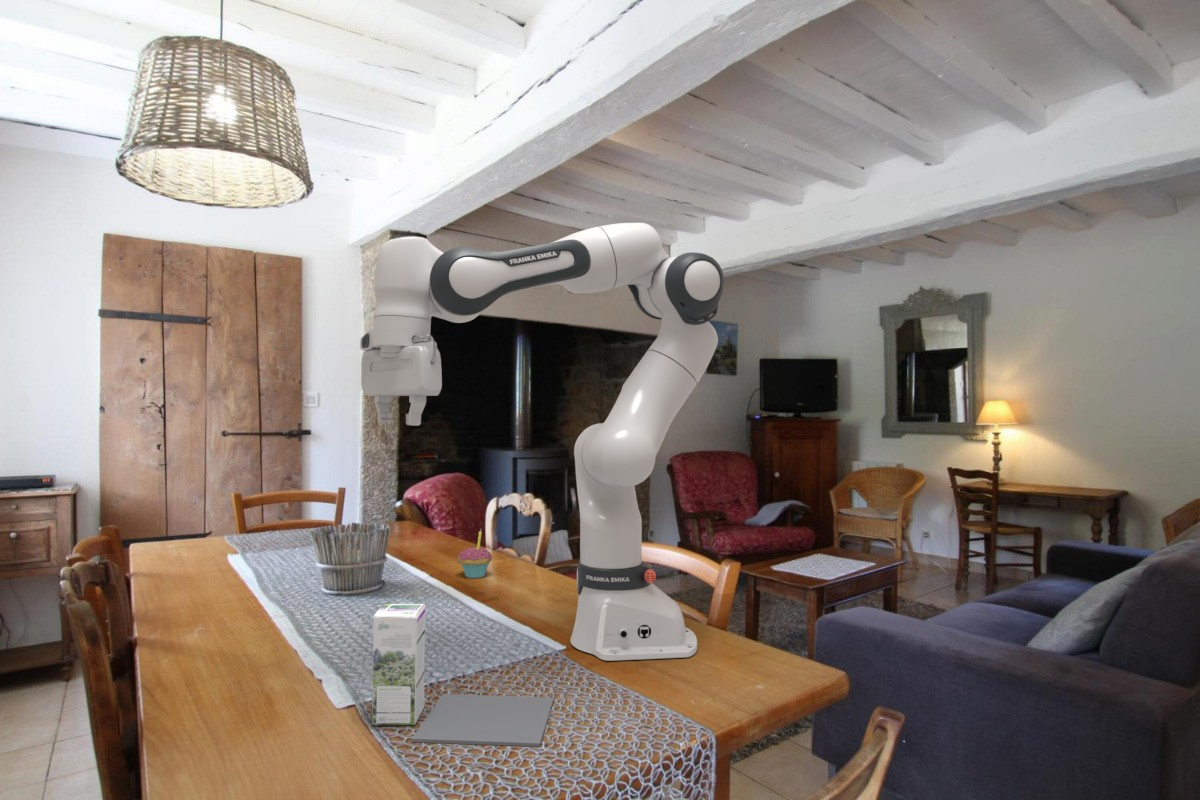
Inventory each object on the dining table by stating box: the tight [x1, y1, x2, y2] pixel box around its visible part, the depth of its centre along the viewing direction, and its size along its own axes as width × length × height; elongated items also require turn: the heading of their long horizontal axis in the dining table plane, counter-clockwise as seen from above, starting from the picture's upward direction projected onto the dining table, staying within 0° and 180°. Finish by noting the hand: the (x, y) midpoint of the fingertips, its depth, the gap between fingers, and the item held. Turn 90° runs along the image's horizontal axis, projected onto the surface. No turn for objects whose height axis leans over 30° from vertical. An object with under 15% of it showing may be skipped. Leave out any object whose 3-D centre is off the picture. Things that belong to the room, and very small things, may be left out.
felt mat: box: [411, 693, 555, 748], centre depth 87 cm, size 16×13×1 cm
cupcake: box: [456, 529, 493, 579], centre depth 164 cm, size 9×8×12 cm
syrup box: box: [371, 603, 427, 726], centre depth 88 cm, size 6×6×14 cm
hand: (398, 424), depth 105 cm, fingers open, 8 cm apart
